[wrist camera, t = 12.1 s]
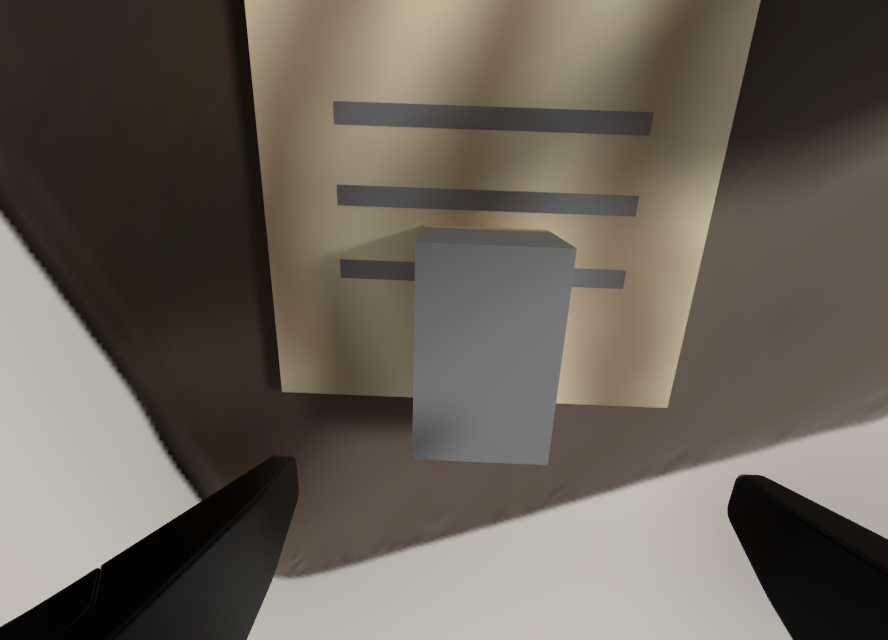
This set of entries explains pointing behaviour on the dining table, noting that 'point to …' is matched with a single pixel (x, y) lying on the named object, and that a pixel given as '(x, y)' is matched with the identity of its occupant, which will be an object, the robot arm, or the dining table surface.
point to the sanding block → (488, 342)
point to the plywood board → (491, 169)
